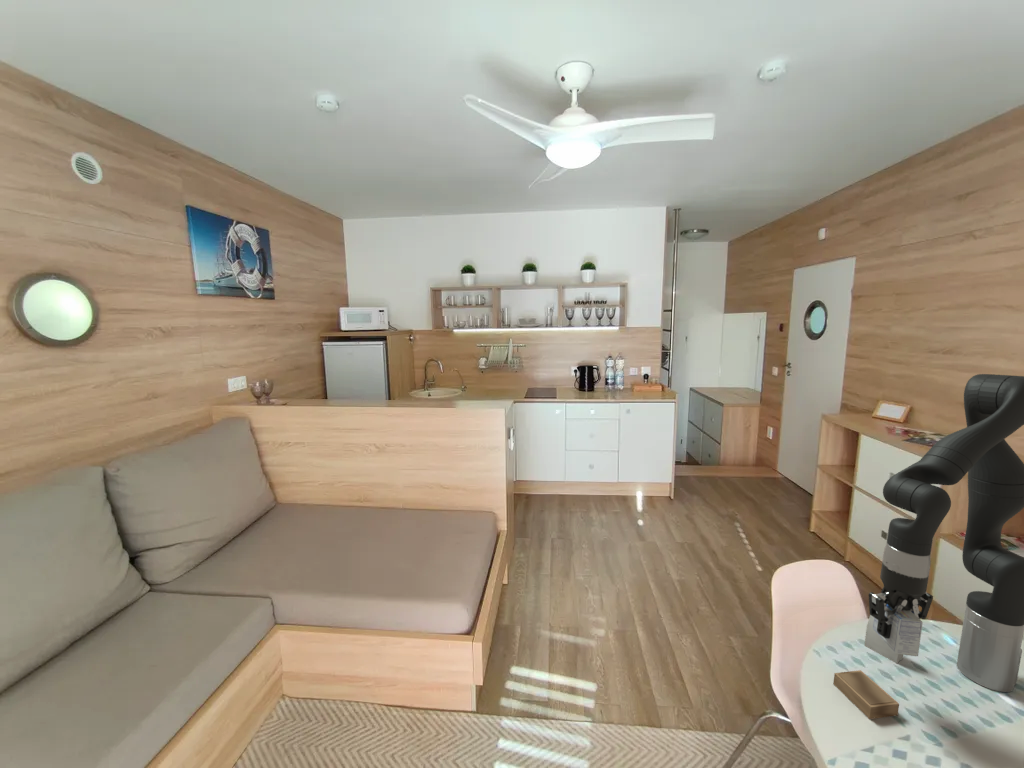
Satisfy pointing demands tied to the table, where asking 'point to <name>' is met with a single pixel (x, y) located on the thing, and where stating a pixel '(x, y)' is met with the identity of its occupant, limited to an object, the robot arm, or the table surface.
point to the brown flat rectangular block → (866, 694)
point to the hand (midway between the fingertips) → (894, 634)
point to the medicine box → (903, 633)
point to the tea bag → (879, 643)
